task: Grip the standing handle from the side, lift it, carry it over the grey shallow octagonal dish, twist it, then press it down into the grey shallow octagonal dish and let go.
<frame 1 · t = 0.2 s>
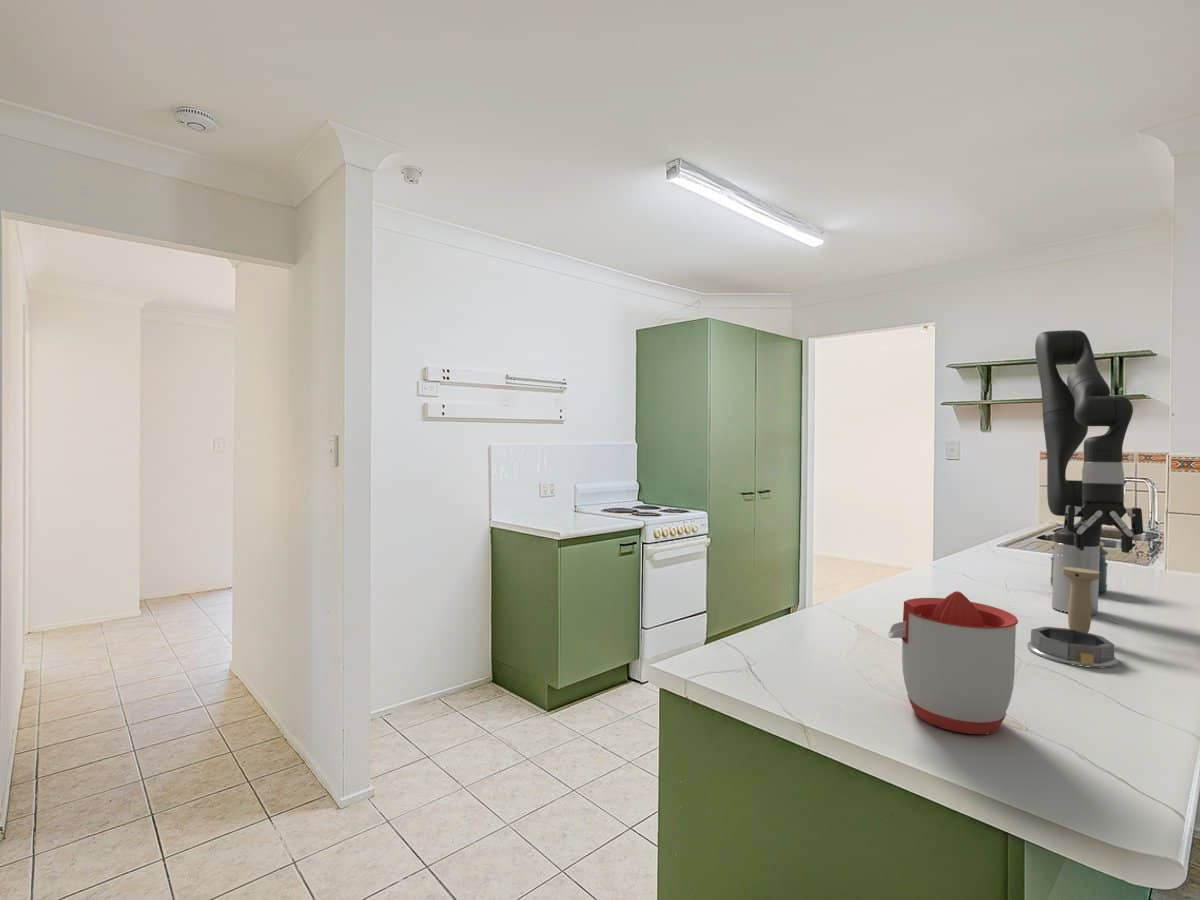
hand: (1102, 551, 142), 18 cm above the counter, tool pointing down, fingers open, 8 cm apart
citrus juicer: (948, 718, 95), on the counter
grey shallow octagonal dish: (1070, 654, 124), on the counter
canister: (1077, 590, 177), on the counter
handle: (1078, 638, 134), on the counter
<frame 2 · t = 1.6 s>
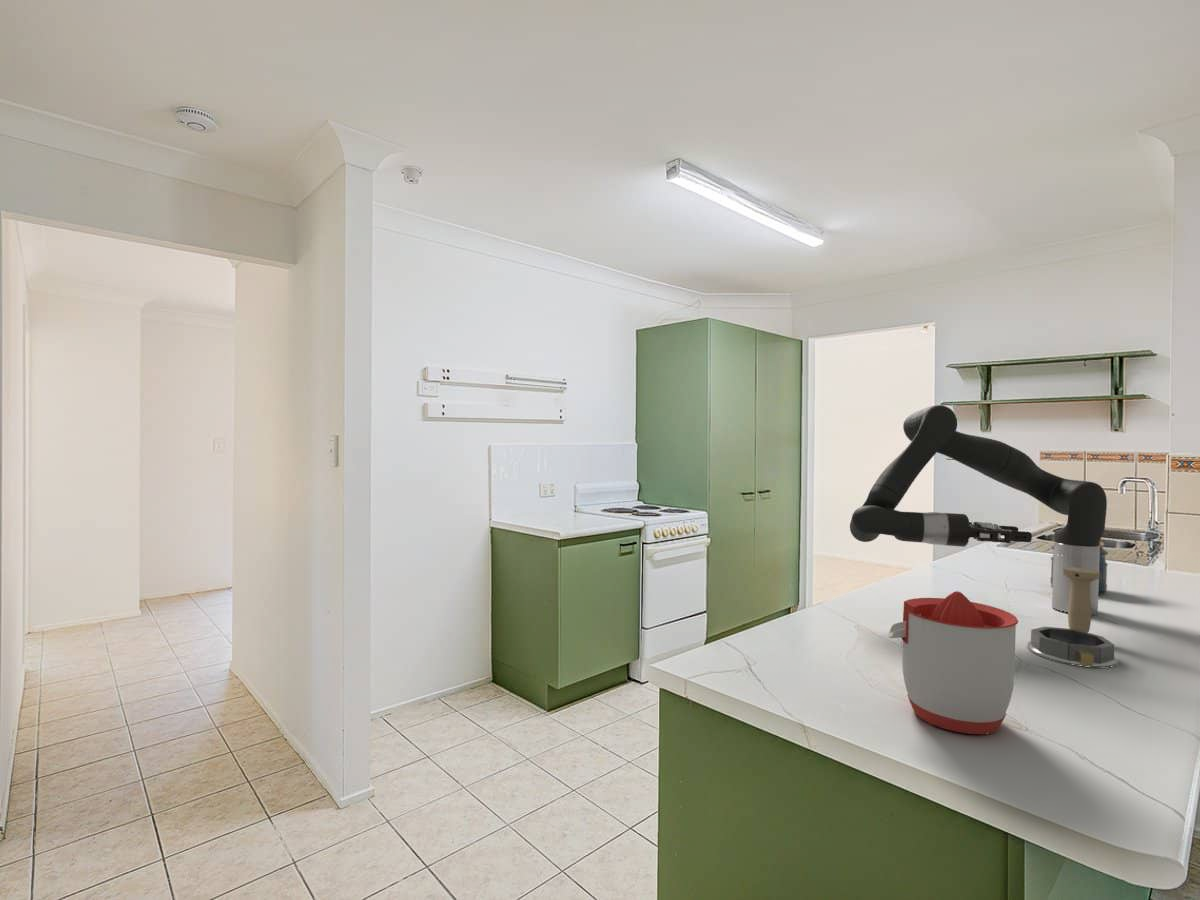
hand: (1024, 534, 137), 22 cm above the counter, tool horizontal, fingers open, 8 cm apart
nothing on the counter moved.
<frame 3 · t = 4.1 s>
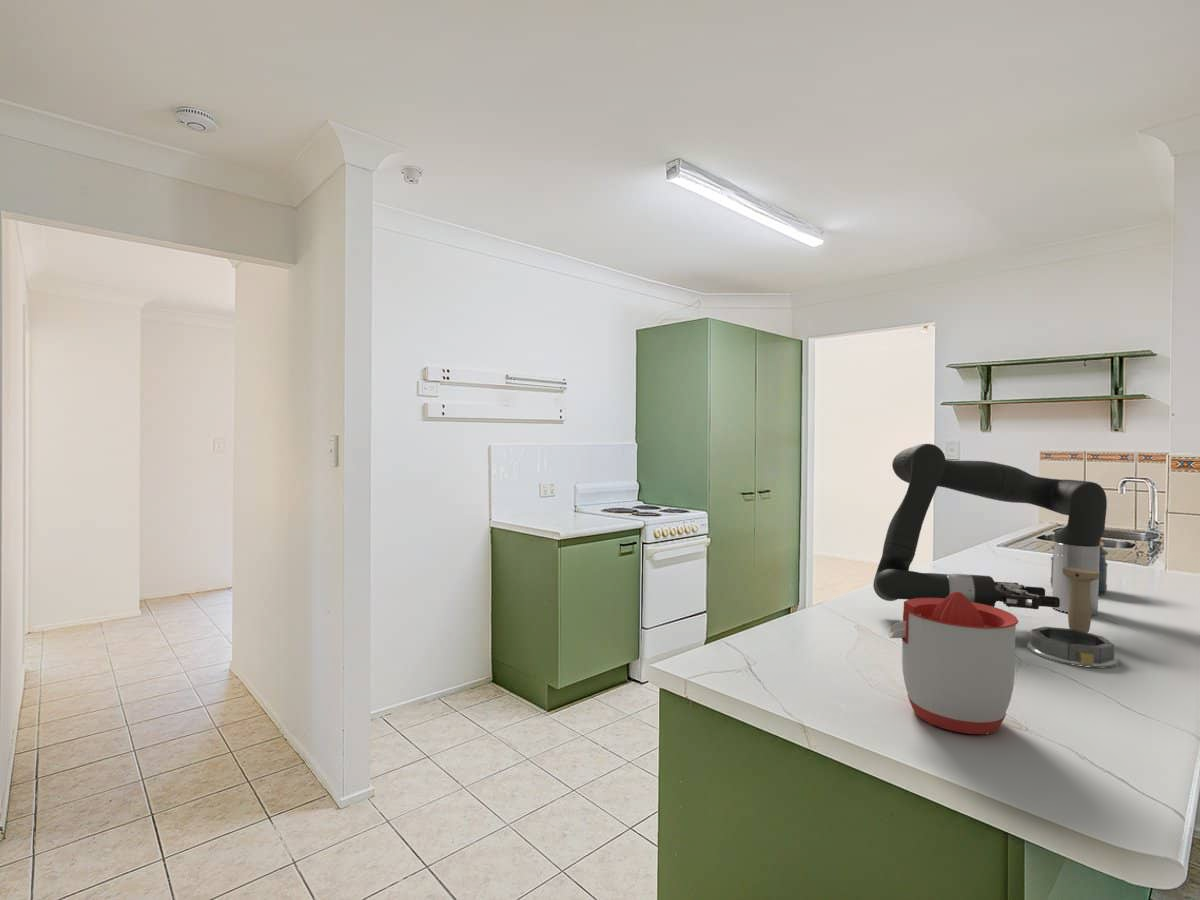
hand: (1051, 597, 136), 8 cm above the counter, tool horizontal, fingers open, 8 cm apart
nothing on the counter moved.
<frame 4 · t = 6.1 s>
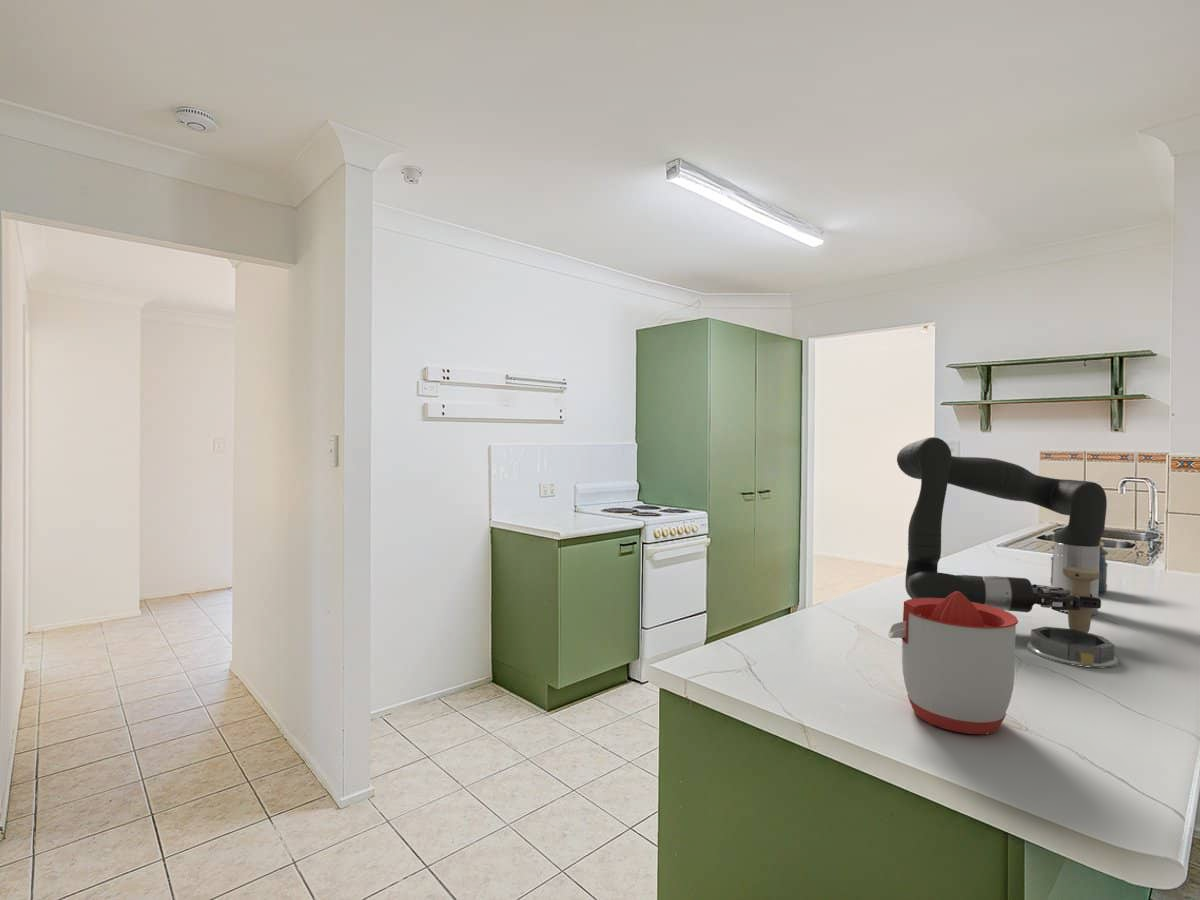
hand: (1095, 600, 133), 9 cm above the counter, tool horizontal, fingers closed on handle, 3 cm apart
handle: (1078, 638, 134), on the counter, touching gripper
everything else where it was.
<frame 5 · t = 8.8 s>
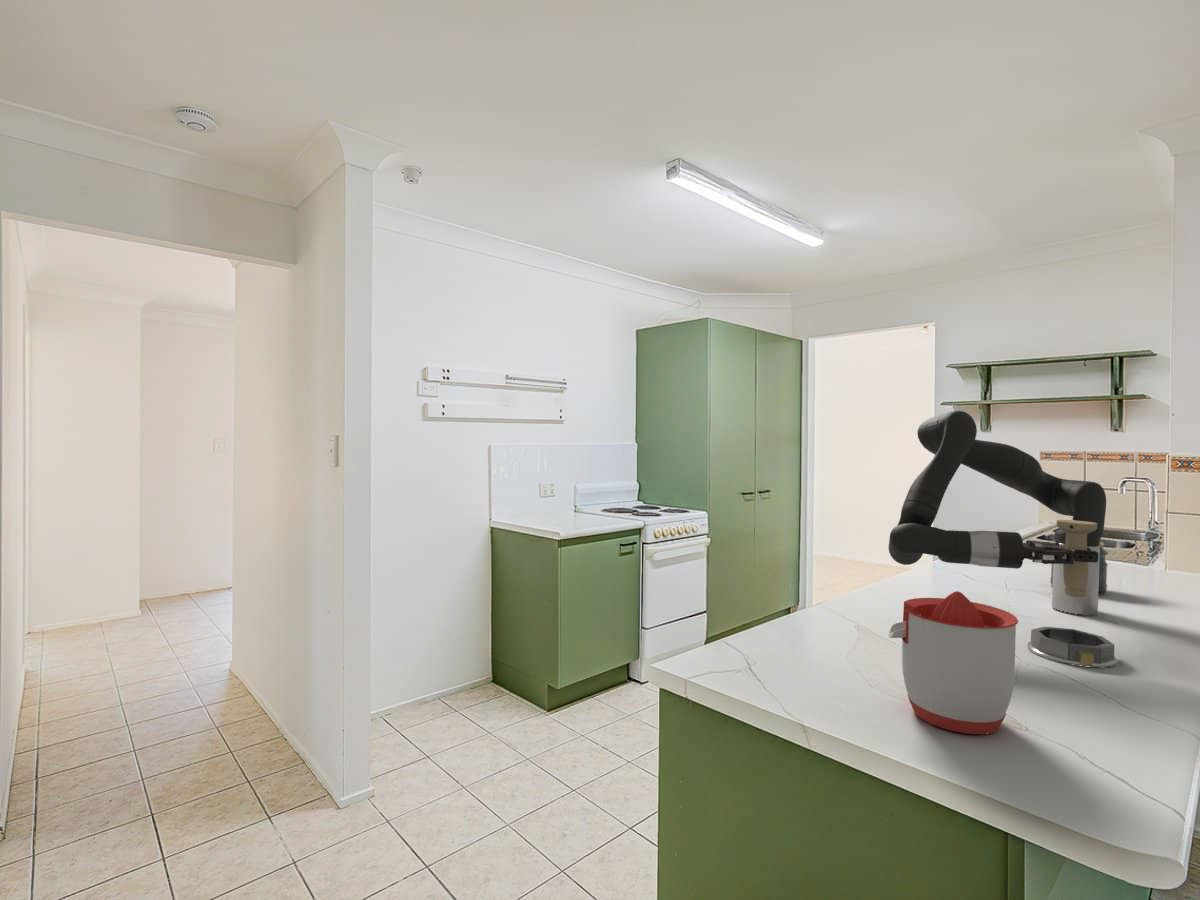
hand: (1093, 554, 122), 21 cm above the counter, tool horizontal, fingers closed on handle, 3 cm apart
handle: (1075, 596, 123), point 12 cm above the counter, touching gripper
everything else where it was.
when the fingers open (10 cm above the counter, at t = 11.8 s): handle stays where it is, resting on grey shallow octagonal dish.
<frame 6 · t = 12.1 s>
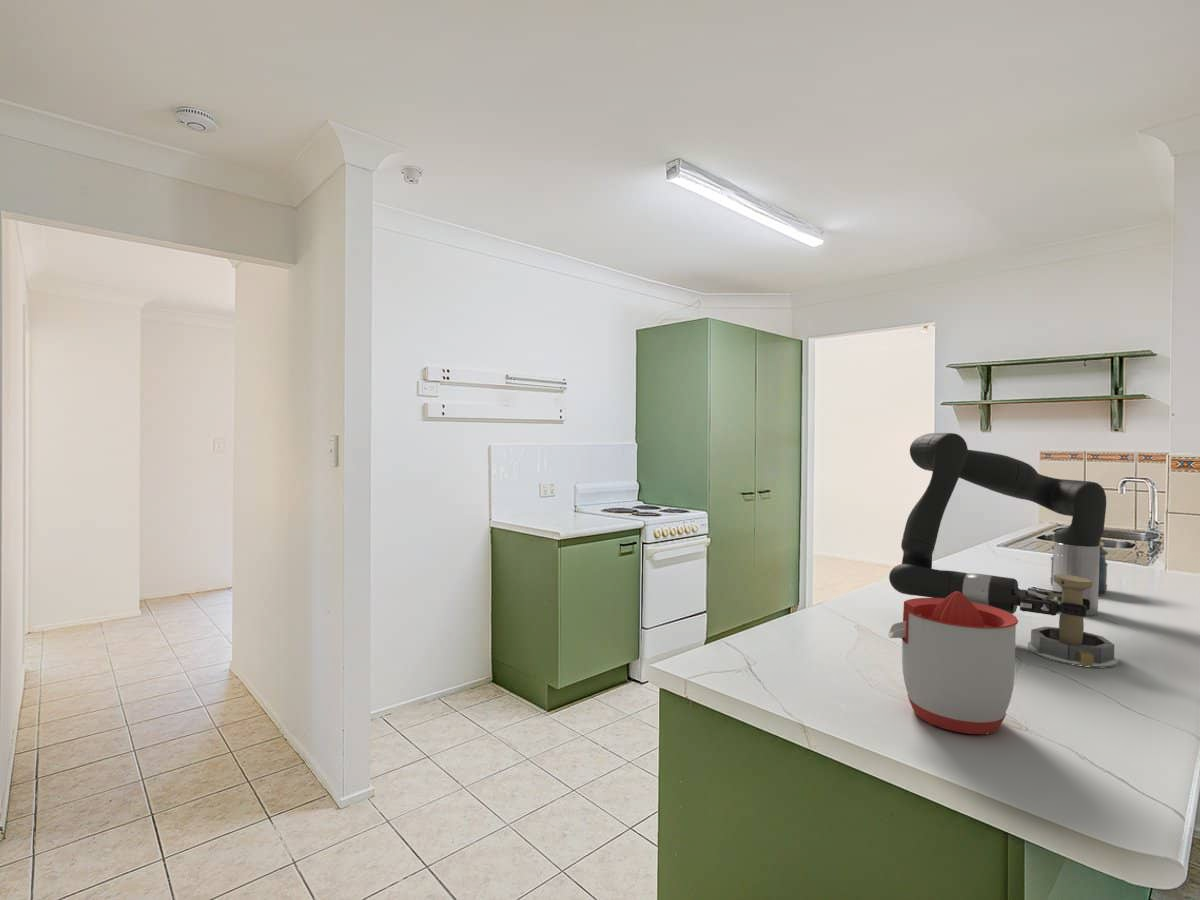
hand: (1087, 608, 122), 10 cm above the counter, tool horizontal, fingers open, 6 cm apart
handle: (1070, 652, 124), resting on grey shallow octagonal dish
everything else where it was.
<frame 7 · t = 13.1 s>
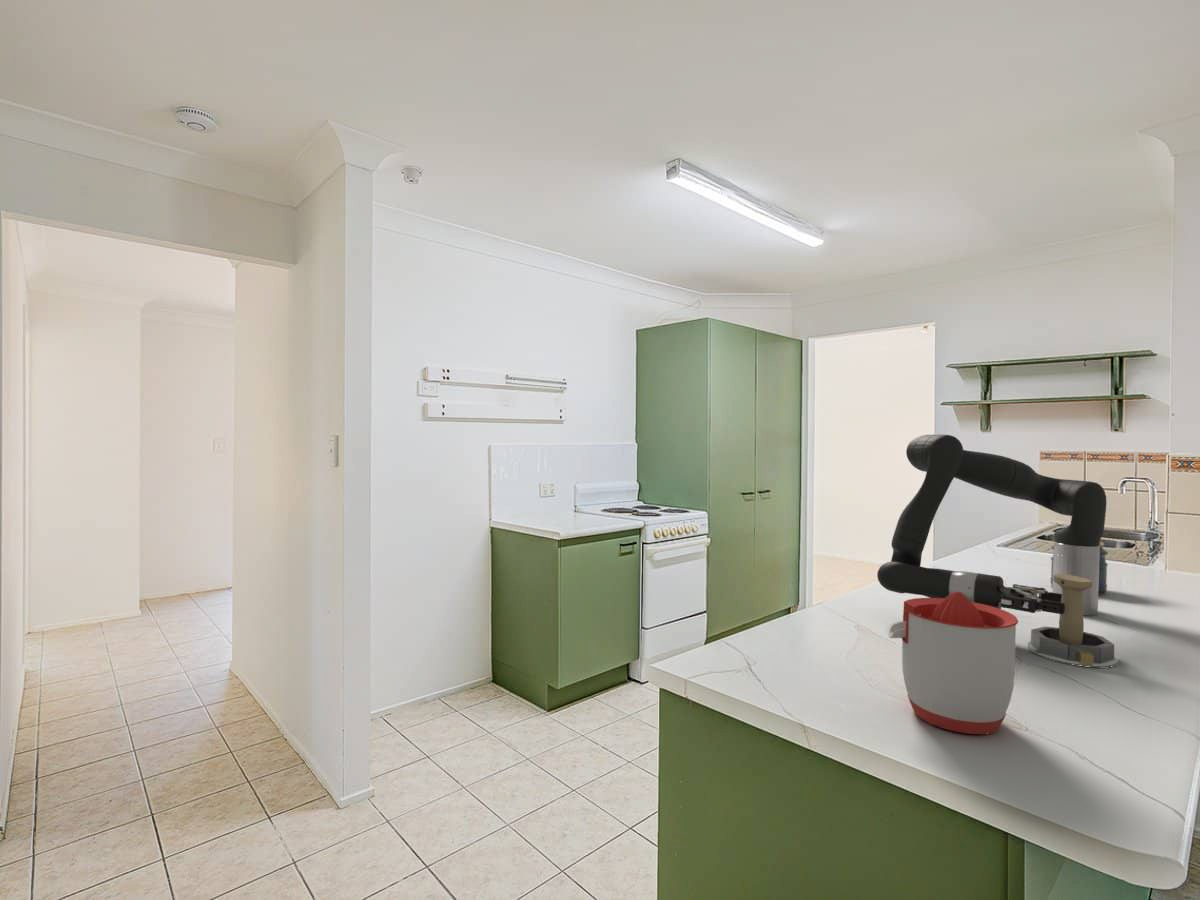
hand: (1067, 604, 124), 10 cm above the counter, tool horizontal, fingers open, 8 cm apart
nothing on the counter moved.
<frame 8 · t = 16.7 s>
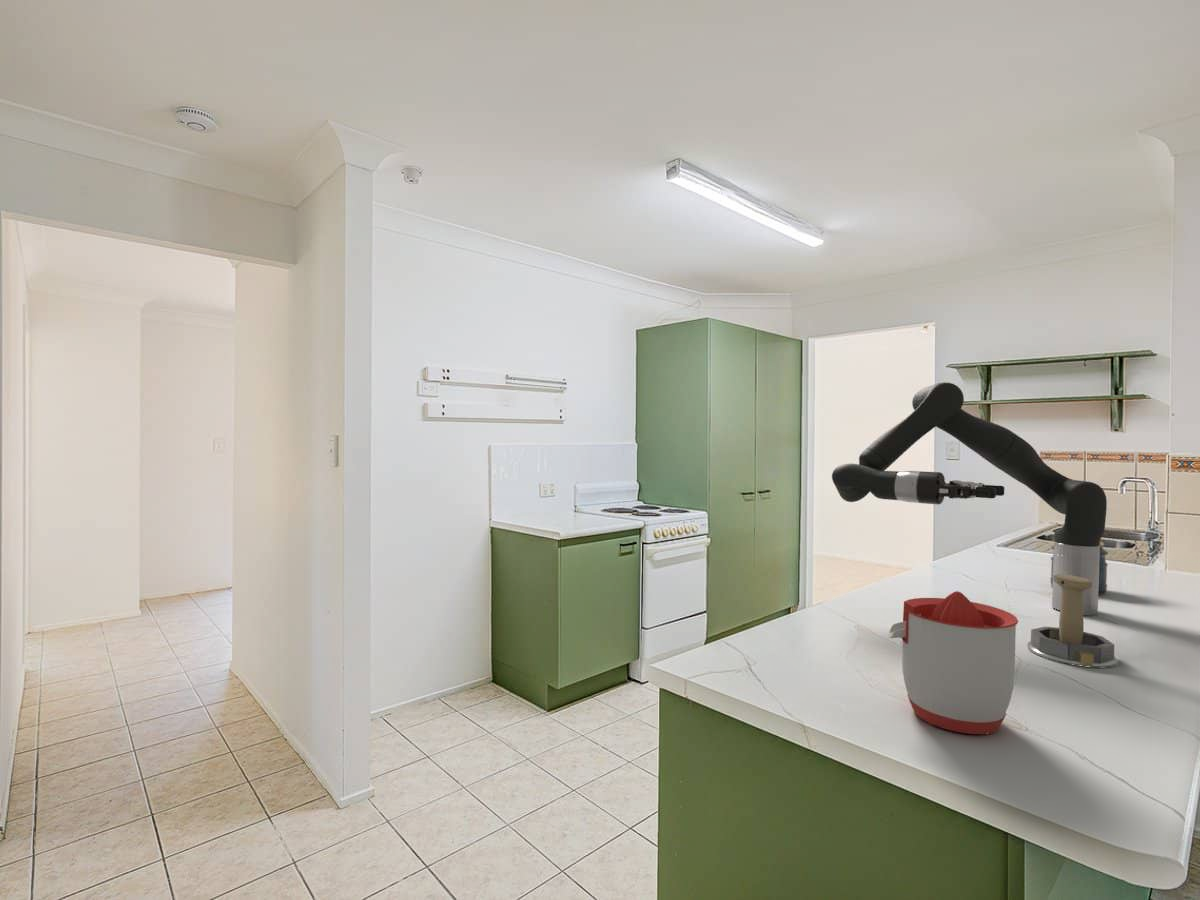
hand: (999, 492, 133), 32 cm above the counter, tool horizontal, fingers open, 8 cm apart
nothing on the counter moved.
at the end: handle 0.1 cm off-centre on the grey shallow octagonal dish, point 0.4 cm above the grey shallow octagonal dish's base; handle tilted 0°; the gripper is holding nothing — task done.
